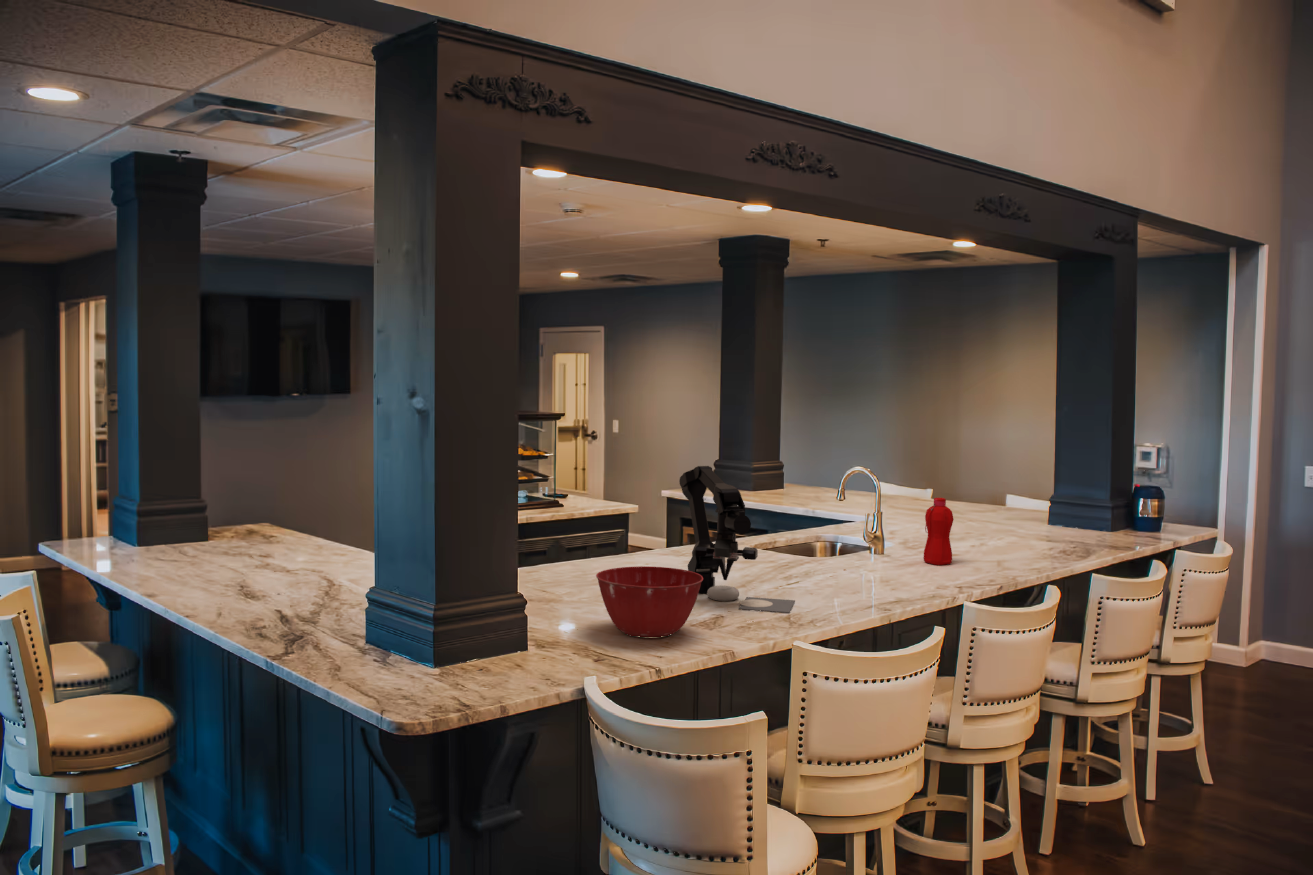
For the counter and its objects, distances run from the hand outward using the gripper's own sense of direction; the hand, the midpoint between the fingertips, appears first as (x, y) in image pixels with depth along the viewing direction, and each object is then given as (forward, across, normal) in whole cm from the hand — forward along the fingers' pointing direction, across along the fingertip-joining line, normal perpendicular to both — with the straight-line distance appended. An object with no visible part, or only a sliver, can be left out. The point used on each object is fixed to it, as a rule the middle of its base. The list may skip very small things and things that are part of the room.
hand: (725, 579), depth 294 cm
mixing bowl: (+7, -14, -41) cm, 44 cm away
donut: (+5, +2, +1) cm, 6 cm away
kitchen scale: (+7, +13, 0) cm, 15 cm away
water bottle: (+7, +67, +89) cm, 111 cm away
